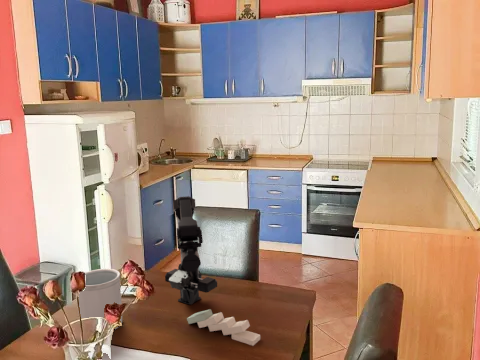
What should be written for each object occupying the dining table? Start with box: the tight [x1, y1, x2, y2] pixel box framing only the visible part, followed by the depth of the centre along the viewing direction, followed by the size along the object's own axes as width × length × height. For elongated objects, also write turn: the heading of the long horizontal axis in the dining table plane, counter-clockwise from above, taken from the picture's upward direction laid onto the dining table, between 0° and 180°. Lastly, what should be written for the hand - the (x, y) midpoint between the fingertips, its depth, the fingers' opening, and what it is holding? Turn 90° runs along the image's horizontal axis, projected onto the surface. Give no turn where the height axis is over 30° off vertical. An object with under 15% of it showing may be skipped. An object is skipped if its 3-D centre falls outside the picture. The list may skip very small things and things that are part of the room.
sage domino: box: [186, 308, 214, 325], centre depth 148 cm, size 2×4×8 cm
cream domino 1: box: [196, 311, 225, 329], centre depth 145 cm, size 2×4×8 cm
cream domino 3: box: [221, 319, 251, 336], centre depth 140 cm, size 2×4×8 cm
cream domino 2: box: [207, 316, 237, 332], centre depth 143 cm, size 2×4×8 cm
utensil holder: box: [77, 268, 123, 330], centre depth 148 cm, size 15×15×18 cm
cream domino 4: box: [231, 329, 261, 347], centre depth 138 cm, size 2×4×8 cm
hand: (191, 303), depth 149 cm, fingers closed
